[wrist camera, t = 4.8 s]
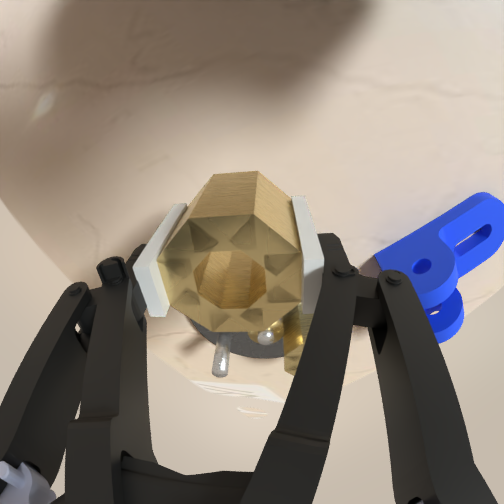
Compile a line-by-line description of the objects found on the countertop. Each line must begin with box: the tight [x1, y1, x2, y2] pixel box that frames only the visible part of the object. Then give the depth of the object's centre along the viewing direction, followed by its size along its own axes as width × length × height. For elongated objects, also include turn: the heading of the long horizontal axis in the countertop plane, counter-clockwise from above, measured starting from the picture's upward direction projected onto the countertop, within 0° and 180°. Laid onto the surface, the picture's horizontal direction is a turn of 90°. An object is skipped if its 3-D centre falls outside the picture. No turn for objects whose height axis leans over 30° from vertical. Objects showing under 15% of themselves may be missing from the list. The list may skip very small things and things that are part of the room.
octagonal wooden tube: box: [156, 171, 302, 332], centre depth 15 cm, size 6×6×6 cm
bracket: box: [374, 192, 504, 344], centre depth 25 cm, size 18×8×9 cm, turn 124°
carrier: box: [190, 302, 314, 377], centre depth 30 cm, size 18×18×8 cm
